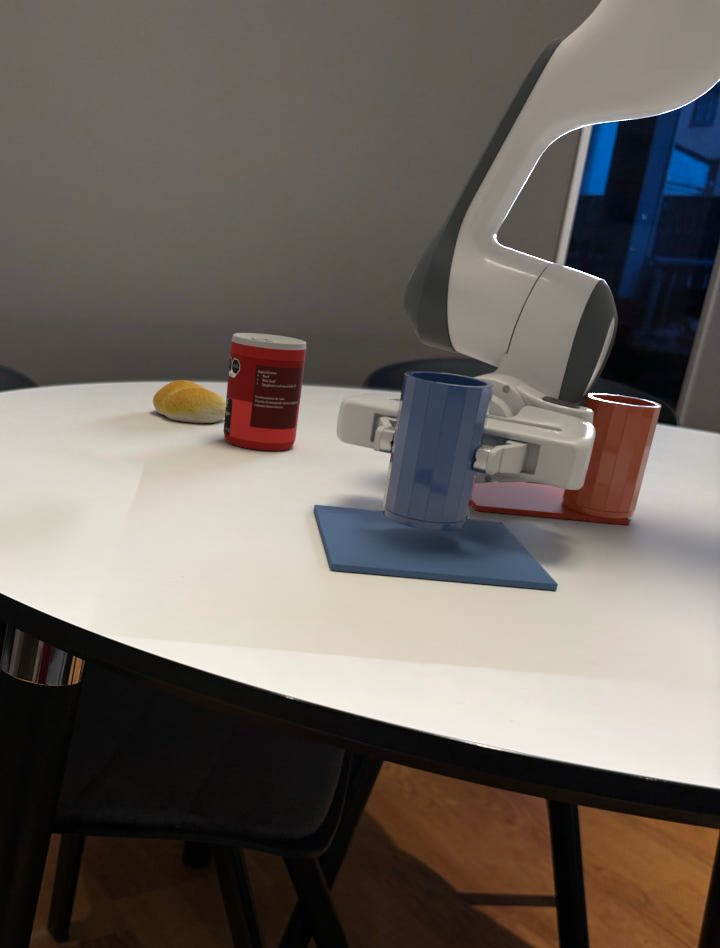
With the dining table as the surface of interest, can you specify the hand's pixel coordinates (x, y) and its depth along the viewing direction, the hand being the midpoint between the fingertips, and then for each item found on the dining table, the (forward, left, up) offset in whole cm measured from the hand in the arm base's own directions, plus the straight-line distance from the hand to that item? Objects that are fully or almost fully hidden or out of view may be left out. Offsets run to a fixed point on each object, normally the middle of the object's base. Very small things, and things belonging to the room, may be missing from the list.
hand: (433, 451), depth 75 cm
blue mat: (-1, -1, -7) cm, 8 cm away
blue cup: (0, -1, -5) cm, 5 cm away
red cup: (-20, -17, -7) cm, 27 cm away
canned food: (+11, -35, -8) cm, 37 cm away
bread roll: (+19, -47, -8) cm, 51 cm away
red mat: (-15, -22, -7) cm, 27 cm away
